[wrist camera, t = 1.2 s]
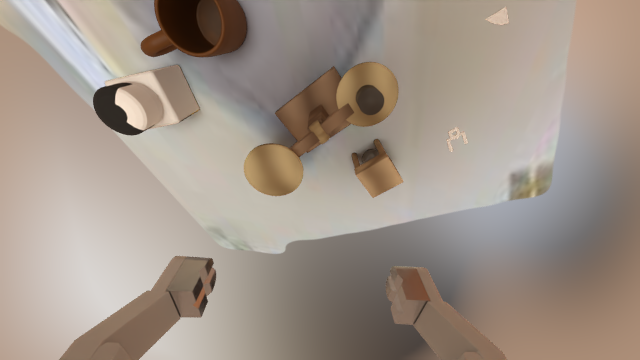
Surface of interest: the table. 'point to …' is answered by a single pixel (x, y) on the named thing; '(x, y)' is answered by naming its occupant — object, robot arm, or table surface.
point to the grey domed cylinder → (369, 155)
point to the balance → (321, 122)
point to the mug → (197, 27)
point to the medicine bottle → (145, 100)
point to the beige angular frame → (496, 18)
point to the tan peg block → (377, 172)
